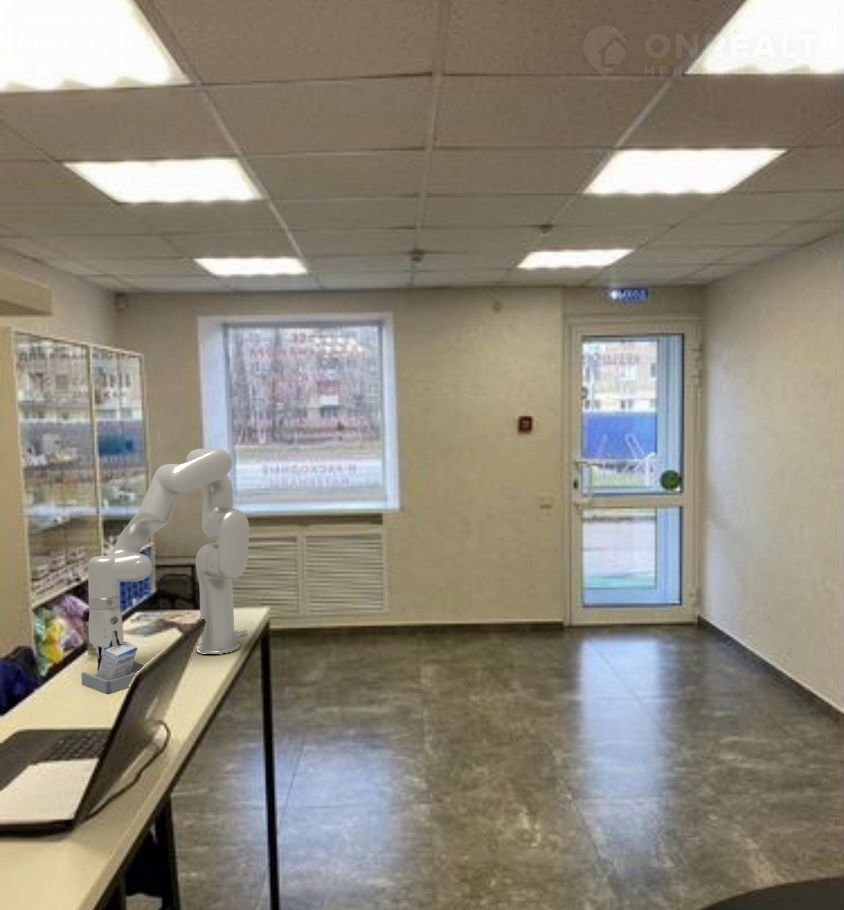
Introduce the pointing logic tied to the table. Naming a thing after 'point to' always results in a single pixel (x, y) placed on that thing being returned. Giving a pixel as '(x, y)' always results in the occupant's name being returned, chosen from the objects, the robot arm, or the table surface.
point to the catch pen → (113, 684)
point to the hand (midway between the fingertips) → (105, 672)
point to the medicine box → (117, 661)
